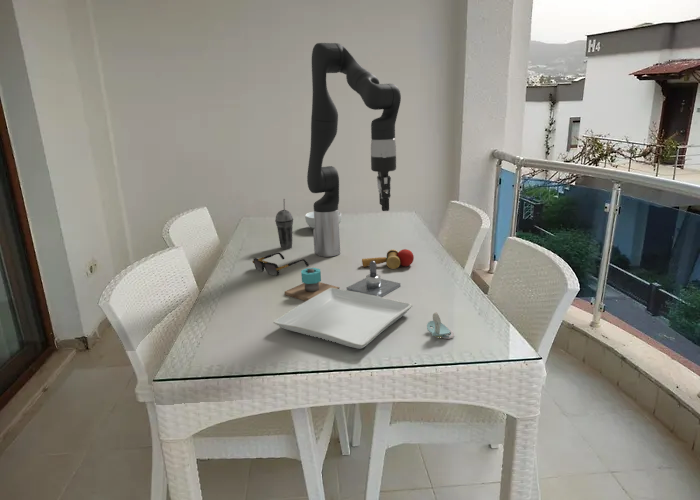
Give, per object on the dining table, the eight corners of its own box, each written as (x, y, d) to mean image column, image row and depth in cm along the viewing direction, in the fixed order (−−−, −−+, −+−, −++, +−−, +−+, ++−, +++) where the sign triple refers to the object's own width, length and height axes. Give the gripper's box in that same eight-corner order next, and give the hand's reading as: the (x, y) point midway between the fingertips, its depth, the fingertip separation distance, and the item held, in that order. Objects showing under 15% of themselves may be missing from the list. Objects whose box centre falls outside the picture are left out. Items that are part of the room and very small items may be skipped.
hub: (346, 290, 151) (345, 263, 148) (369, 279, 160) (368, 252, 157) (378, 298, 144) (377, 270, 141) (400, 286, 153) (400, 258, 150)
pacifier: (446, 327, 125) (424, 330, 124) (447, 305, 123) (425, 307, 122) (458, 340, 118) (435, 343, 117) (460, 316, 116) (436, 319, 115)
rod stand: (284, 294, 150) (282, 271, 148) (311, 282, 159) (309, 260, 157) (313, 303, 143) (311, 279, 141) (339, 290, 152) (338, 267, 149)
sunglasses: (309, 266, 176) (308, 253, 174) (275, 278, 165) (274, 264, 164) (284, 259, 185) (282, 247, 183) (251, 270, 174) (249, 257, 173)
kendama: (363, 274, 168) (415, 266, 167) (360, 256, 168) (412, 248, 166) (364, 271, 176) (414, 263, 174) (361, 253, 175) (411, 245, 174)
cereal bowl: (341, 232, 217) (340, 217, 215) (304, 234, 218) (303, 218, 216) (342, 223, 234) (341, 209, 231) (307, 224, 234) (306, 210, 232)
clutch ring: (298, 281, 149) (297, 272, 148) (310, 275, 154) (310, 266, 153) (311, 285, 146) (311, 275, 145) (324, 279, 150) (324, 270, 149)
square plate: (363, 359, 112) (363, 344, 110) (272, 334, 126) (270, 320, 124) (413, 314, 133) (413, 301, 132) (331, 297, 147) (330, 285, 146)
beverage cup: (274, 249, 197) (269, 200, 191) (283, 244, 203) (279, 197, 197) (290, 251, 194) (286, 201, 188) (298, 245, 200) (295, 197, 194)
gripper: (369, 152, 152) (370, 203, 157) (372, 157, 139) (373, 213, 144) (393, 151, 152) (394, 202, 157) (398, 156, 139) (399, 212, 144)
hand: (384, 207), depth 150 cm, fingers open, 8 cm apart
